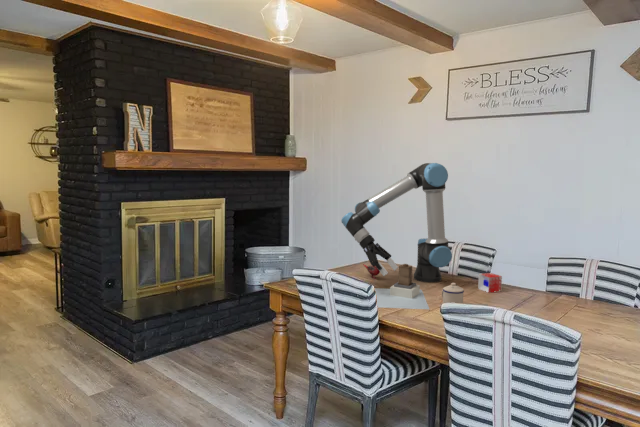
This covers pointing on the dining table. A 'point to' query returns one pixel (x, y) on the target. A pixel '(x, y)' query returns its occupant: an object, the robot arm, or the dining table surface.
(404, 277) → the walnut pillar
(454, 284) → the teacup with lid
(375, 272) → the decorative bird figurine
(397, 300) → the mat
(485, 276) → the puzzle cube
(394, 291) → the base brick
